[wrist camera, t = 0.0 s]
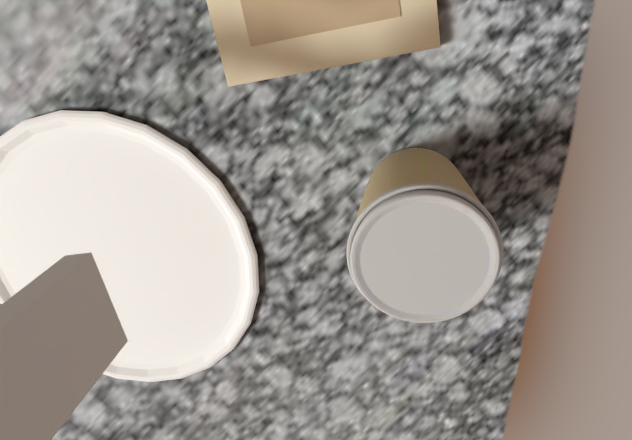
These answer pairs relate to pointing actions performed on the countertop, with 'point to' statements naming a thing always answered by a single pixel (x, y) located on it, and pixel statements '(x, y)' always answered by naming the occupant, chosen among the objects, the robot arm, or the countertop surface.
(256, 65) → the maple board
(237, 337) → the plate
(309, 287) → the countertop surface
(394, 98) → the countertop surface
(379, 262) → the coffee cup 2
